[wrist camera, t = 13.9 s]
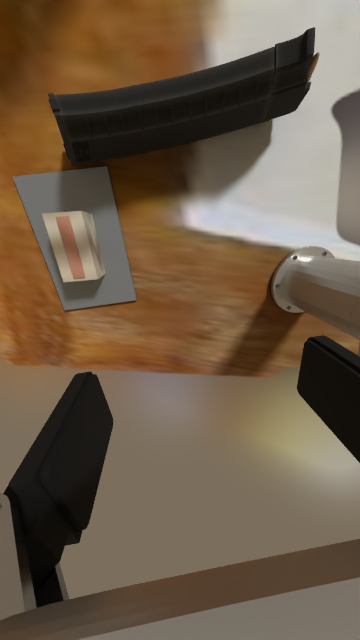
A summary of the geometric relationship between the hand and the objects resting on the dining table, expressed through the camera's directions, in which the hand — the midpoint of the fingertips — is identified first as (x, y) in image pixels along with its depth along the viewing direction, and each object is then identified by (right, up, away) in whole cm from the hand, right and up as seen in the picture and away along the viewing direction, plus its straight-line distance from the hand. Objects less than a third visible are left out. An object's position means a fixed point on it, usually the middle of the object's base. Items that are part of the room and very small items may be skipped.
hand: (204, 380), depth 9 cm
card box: (-17, +14, +22) cm, 31 cm away
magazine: (-1, +29, +18) cm, 35 cm away
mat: (-17, +15, +23) cm, 32 cm away
